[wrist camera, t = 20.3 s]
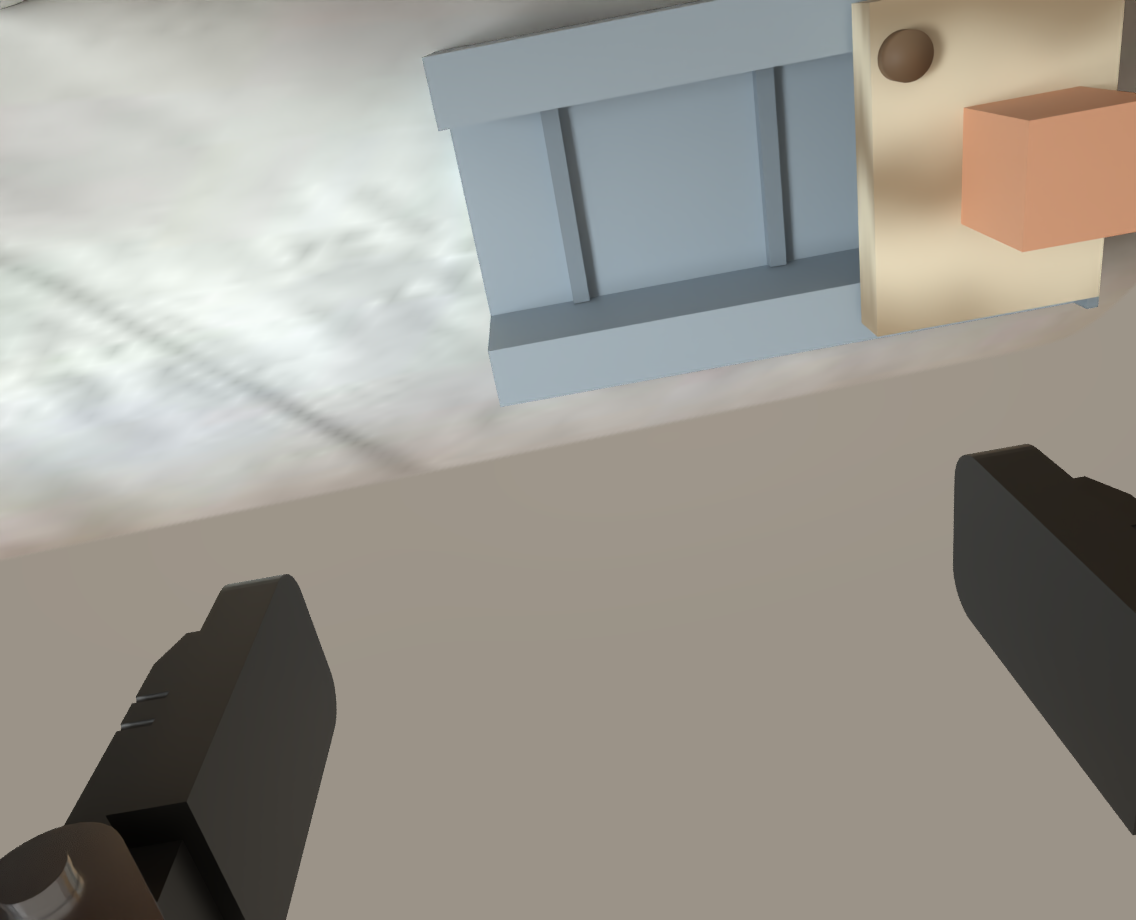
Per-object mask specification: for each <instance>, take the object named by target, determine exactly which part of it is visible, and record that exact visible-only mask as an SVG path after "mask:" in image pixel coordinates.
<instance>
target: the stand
mask: <svg viewBox="0 0 1136 920" xmlns="http://www.w3.org/2000/svg"><path fill="white" fill-rule="evenodd" d="M862 1H867V0H701V1H695V2H690V3H685V4H680V5H675V6H670V7H665V8H659V9H654V10H649V11H644V12H639V13H634V14H628V15H623V16H618V17H613V18H608V19H603V20H598V21H592V22H587V23H582V24H577V25H572V26H567V27H562V28H556V29H551V30H546V31H541V32H536V33H531V34H525V35H520V36H515V37H510V38H505V39H500V40H495V41H489V42H484V43H479V44H474V45H469V46H464V47H458V48H453V49H448V50H443V51H438V52H434V53H432V54H429V55H427V56H425V57H422V60H423V64H424V69H425V73H426V78H427V82H428V87H429V91H430V96H431V100H432V104H433V109H434V113H435V118H436V122H437V127H438V131H442V130H447V129H450V132H451V136H452V141H453V145H454V150H455V155H456V159H457V164H458V168H459V173H460V177H461V182H462V186H463V191H464V196H465V200H466V205H467V209H468V214H469V218H470V223H471V227H472V232H473V237H474V241H475V246H476V250H477V255H478V259H479V264H480V268H481V273H482V278H483V282H484V287H485V291H486V296H487V300H488V305H489V309H490V314H491V322H490V334H489V346H488V353H489V358H490V362H491V367H492V371H493V375H494V380H495V384H496V389H497V393H498V398H499V402H500V407H504V406H509V405H515V404H520V403H526V402H531V401H537V400H542V399H548V398H553V397H559V396H564V395H570V394H575V393H581V392H586V391H592V390H597V389H602V388H608V387H613V386H619V385H624V384H630V383H635V382H641V381H646V380H652V379H657V378H663V377H668V376H674V375H679V374H685V373H690V372H696V371H701V370H707V369H712V368H718V367H723V366H729V365H734V364H740V363H745V362H751V361H756V360H762V359H767V358H773V357H778V356H784V355H789V354H795V353H800V352H805V351H811V350H816V349H822V348H827V347H833V346H838V345H844V344H849V343H855V342H860V341H866V340H871V339H877V338H882V337H888V336H893V335H899V334H904V333H910V332H915V331H921V330H926V329H932V328H937V327H943V326H948V325H954V324H959V323H965V322H970V321H976V320H981V319H987V318H992V317H998V316H1003V315H1009V314H1014V313H1019V312H1025V311H1030V310H1036V309H1041V308H1047V307H1052V306H1058V305H1063V304H1069V303H1076V304H1078V305H1080V306H1082V307H1084V308H1086V309H1089V308H1094V307H1098V300H1099V297H1093V298H1088V299H1082V300H1077V301H1071V302H1066V303H1060V304H1055V305H1049V306H1044V307H1038V308H1033V309H1027V310H1022V311H1016V312H1011V313H1005V314H1000V315H994V316H989V317H983V318H978V319H973V320H967V321H962V322H956V323H951V324H945V325H940V326H934V327H929V328H923V329H918V330H912V331H907V332H901V333H896V334H890V335H885V336H879V337H877V336H876V335H875V334H874V333H873V332H871V331H870V330H869V329H868V328H867V327H866V326H865V325H863V324H862V323H861V291H860V260H859V228H858V197H857V165H856V134H855V102H854V71H853V39H852V8H851V4H852V3H857V2H862Z"/></svg>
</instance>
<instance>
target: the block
mask: <svg viewBox="0 0 1136 920" xmlns="http://www.w3.org/2000/svg"><path fill="white" fill-rule="evenodd" d="M961 224H962V225H964V226H967V227H969V228H971V229H973V230H975V231H977V232H980V233H982V234H984V235H986V236H988V237H990V238H993V239H995V240H997V241H999V242H1001V243H1003V244H1006V245H1008V246H1010V247H1012V248H1014V249H1016V250H1019V251H1021V252H1027V251H1032V250H1038V249H1044V248H1049V247H1055V246H1060V245H1066V244H1071V243H1077V242H1083V241H1088V240H1094V239H1099V238H1105V237H1110V236H1116V235H1121V234H1127V233H1133V232H1136V93H1132V92H1124V91H1116V90H1108V89H1099V88H1091V87H1083V86H1078V87H1073V88H1068V89H1062V90H1057V91H1051V92H1046V93H1041V94H1035V95H1030V96H1024V97H1019V98H1013V99H1008V100H1003V101H997V102H992V103H986V104H981V105H975V106H970V107H965V108H964V113H963V158H962V202H961Z"/></svg>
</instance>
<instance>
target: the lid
mask: <svg viewBox="0 0 1136 920" xmlns="http://www.w3.org/2000/svg"><path fill="white" fill-rule="evenodd" d="M1124 6H1125V0H867V1H862V2H857V3H852V4H851V8H852V39H853V71H854V102H855V134H856V165H857V197H858V228H859V260H860V291H861V323H862V324H863V325H865V326H866V327H867V328H868V329H869V330H870V331H871V332H873V333H874V334H875V335H876V336H877V337H879V336H885V335H890V334H896V333H901V332H907V331H912V330H918V329H923V328H929V327H934V326H940V325H945V324H951V323H956V322H962V321H967V320H973V319H978V318H983V317H989V316H994V315H1000V314H1005V313H1011V312H1016V311H1022V310H1027V309H1033V308H1038V307H1044V306H1049V305H1055V304H1060V303H1066V302H1071V301H1077V300H1082V299H1088V298H1093V297H1099V290H1100V279H1101V268H1102V256H1103V245H1104V238H1099V239H1094V240H1088V241H1083V242H1077V243H1071V244H1066V245H1060V246H1055V247H1049V248H1044V249H1038V250H1032V251H1027V252H1021V251H1019V250H1016V249H1014V248H1012V247H1010V246H1008V245H1006V244H1003V243H1001V242H999V241H997V240H995V239H993V238H990V237H988V236H986V235H984V234H982V233H980V232H977V231H975V230H973V229H971V228H969V227H967V226H964V225H962V224H961V202H962V158H963V113H964V108H965V107H970V106H975V105H981V104H986V103H992V102H997V101H1003V100H1008V99H1013V98H1019V97H1024V96H1030V95H1035V94H1041V93H1046V92H1051V91H1057V90H1062V89H1068V88H1073V87H1078V86H1083V87H1091V88H1099V89H1108V90H1116V91H1117V86H1118V75H1119V63H1120V52H1121V40H1122V29H1123V18H1124Z"/></svg>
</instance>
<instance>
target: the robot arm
mask: <svg viewBox="0 0 1136 920" xmlns="http://www.w3.org/2000/svg"><path fill="white" fill-rule="evenodd" d="M22 1H24V0H0V9H3V8H6V7H9V6H11V5H14V4H17V3H20V2H22ZM953 572H954V579H955V585H956V589H957V592H958V596H959V599H960V601H961V604H962V606H963V608H964V610H965V612H966V614H967V616H968V618H969V619H970V620H971V622H972V623H973V624H974V626H975V627H976V629H977V630H978V631H979V632H980V634H981V635H982V636H983V638H984V639H985V640H986V642H987V643H988V644H989V646H990V647H991V648H992V650H993V651H994V652H995V654H996V655H997V656H998V658H999V659H1000V660H1001V662H1002V663H1003V664H1004V666H1005V667H1006V668H1007V669H1008V671H1009V672H1010V673H1011V675H1012V676H1013V677H1014V679H1015V680H1016V681H1017V683H1018V684H1019V685H1020V687H1021V688H1022V689H1023V691H1024V692H1025V693H1026V695H1027V696H1028V697H1029V699H1030V700H1031V701H1032V703H1033V704H1034V705H1035V706H1036V708H1037V709H1038V711H1040V713H1041V714H1042V716H1043V717H1044V718H1045V720H1046V721H1047V722H1048V724H1049V725H1050V726H1051V728H1052V729H1053V730H1054V732H1055V733H1056V734H1057V736H1058V737H1059V738H1060V740H1061V741H1062V742H1063V744H1064V745H1065V746H1066V748H1067V749H1068V750H1069V752H1070V753H1071V754H1072V755H1073V757H1074V758H1075V759H1076V761H1077V762H1078V763H1079V765H1080V766H1081V767H1082V769H1083V770H1084V771H1085V773H1086V774H1087V775H1088V777H1089V778H1090V779H1091V780H1092V782H1093V783H1094V784H1095V786H1096V787H1097V789H1098V790H1099V791H1100V793H1101V794H1102V795H1103V797H1104V798H1105V799H1106V800H1107V802H1108V803H1109V804H1110V806H1111V807H1112V808H1113V810H1114V811H1115V812H1116V814H1117V815H1118V816H1119V818H1120V819H1121V820H1122V822H1123V823H1124V824H1125V826H1126V827H1127V828H1128V830H1129V831H1130V832H1131V833H1132V835H1136V498H1134V497H1133V496H1132V495H1130V494H1128V493H1126V492H1123V491H1121V490H1118V489H1115V488H1113V487H1110V486H1108V485H1105V484H1103V483H1100V482H1098V481H1095V480H1093V479H1090V478H1088V477H1085V476H1084V477H1079V478H1072V477H1071V476H1070V475H1069V474H1067V473H1066V472H1065V471H1064V470H1063V469H1061V468H1060V467H1059V466H1058V465H1057V464H1055V463H1054V462H1053V461H1052V460H1050V459H1049V458H1048V457H1047V456H1046V455H1044V454H1043V453H1042V452H1041V451H1040V450H1038V449H1037V448H1036V447H1034V446H1032V445H1029V444H1023V445H1018V446H1012V447H1007V448H1001V449H995V450H990V451H984V452H978V453H973V454H967V455H964V456H962V457H961V458H959V460H958V462H957V465H956V469H955V487H954V543H953ZM136 699H137V702H136V703H133V704H132V705H131V707H130V708H129V710H128V712H127V714H126V715H125V717H124V719H123V721H122V723H121V731H117V732H116V733H115V735H114V737H113V739H112V741H111V742H110V744H109V746H108V748H107V750H106V752H105V753H104V755H103V757H102V758H101V761H100V762H99V764H98V766H97V767H96V769H95V771H94V773H93V775H92V776H91V778H90V780H89V782H88V784H87V785H86V787H85V789H84V791H83V793H82V794H81V796H80V798H79V800H78V801H77V803H76V805H75V807H74V809H73V810H72V812H71V814H70V816H69V818H68V819H67V821H66V823H65V825H64V826H62V827H59V828H55V829H52V830H50V831H47V832H45V833H43V834H40V835H38V836H36V837H34V838H33V839H31V840H29V841H27V842H25V843H23V844H22V845H20V846H19V847H17V848H15V849H14V850H12V851H11V852H9V853H8V854H7V855H5V856H4V857H3V858H1V859H0V920H286V917H287V913H288V909H289V905H290V901H291V897H292V893H293V890H294V886H295V882H296V878H297V874H298V870H299V866H300V862H301V858H302V854H303V850H304V846H305V842H306V838H307V835H308V831H309V827H310V823H311V819H312V815H313V810H314V807H315V803H316V799H317V795H318V791H319V787H320V783H321V779H322V775H323V771H324V768H325V764H326V760H327V755H328V752H329V748H330V744H331V740H332V736H333V732H334V728H335V723H336V694H335V687H334V682H333V678H332V675H331V672H330V669H329V666H328V663H327V661H326V658H325V655H324V652H323V650H322V647H321V644H320V642H319V639H318V636H317V634H316V631H315V628H314V625H313V622H312V620H311V617H310V615H309V612H308V609H307V606H306V603H305V601H304V598H303V595H302V593H301V590H300V588H299V586H298V584H297V582H296V581H295V579H294V578H293V577H292V576H290V575H289V574H284V575H279V576H273V577H267V578H262V579H256V580H251V581H245V582H239V583H234V584H228V585H226V586H224V587H223V588H222V590H221V591H220V593H219V595H218V597H217V599H216V601H215V603H214V605H213V607H212V609H211V611H210V613H209V615H208V617H207V618H206V621H205V622H204V624H203V626H202V628H201V630H200V631H197V632H191V633H187V634H185V636H183V637H182V638H181V640H179V641H178V642H177V643H176V644H175V645H174V646H173V647H172V648H171V649H170V650H169V651H168V652H167V653H165V654H164V655H163V657H161V658H160V659H159V660H158V661H157V662H156V663H155V664H154V666H153V667H152V669H151V671H150V673H149V674H148V676H147V678H146V680H145V681H144V683H143V685H142V687H141V689H140V690H139V692H138V694H137V696H136Z"/></svg>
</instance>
